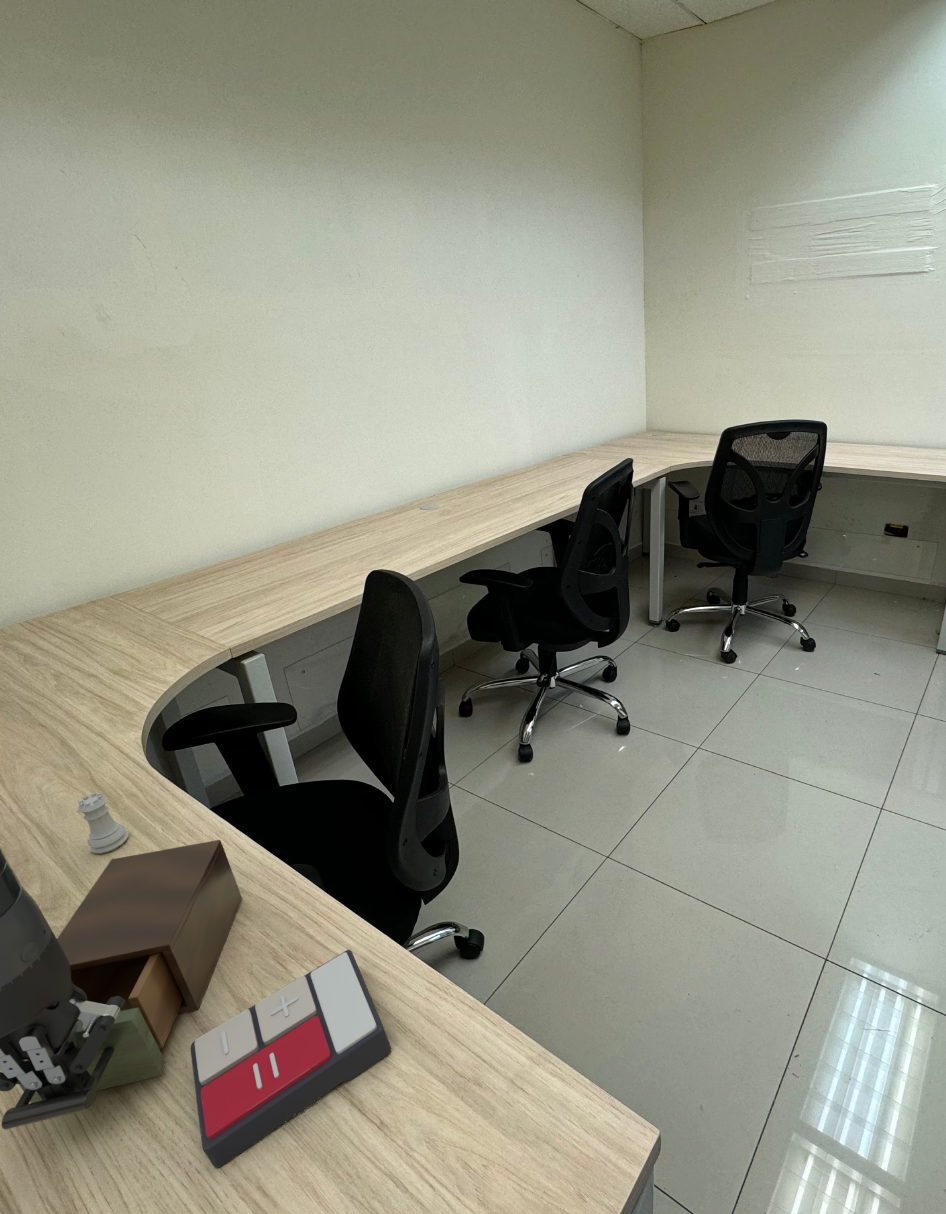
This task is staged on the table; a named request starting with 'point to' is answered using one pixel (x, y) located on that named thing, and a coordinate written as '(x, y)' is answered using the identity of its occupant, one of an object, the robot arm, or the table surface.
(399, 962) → the table surface
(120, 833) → the rook chess piece
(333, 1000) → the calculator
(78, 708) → the table surface
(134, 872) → the cabinet
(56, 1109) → the drawer
